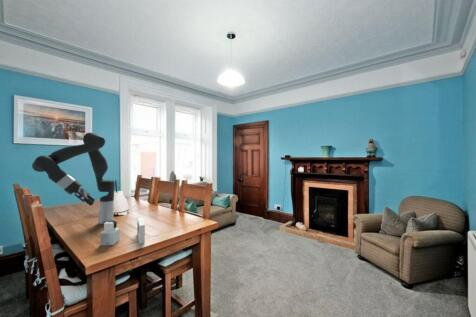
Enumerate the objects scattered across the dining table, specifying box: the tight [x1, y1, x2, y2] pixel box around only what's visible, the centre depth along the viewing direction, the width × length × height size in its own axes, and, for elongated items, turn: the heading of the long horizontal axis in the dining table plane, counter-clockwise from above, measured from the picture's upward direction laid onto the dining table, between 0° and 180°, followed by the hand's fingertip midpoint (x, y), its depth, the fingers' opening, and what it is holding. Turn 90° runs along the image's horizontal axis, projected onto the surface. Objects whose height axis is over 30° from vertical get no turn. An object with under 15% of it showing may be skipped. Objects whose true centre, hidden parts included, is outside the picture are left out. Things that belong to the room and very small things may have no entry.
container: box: [99, 220, 121, 246], centre depth 129 cm, size 8×8×13 cm
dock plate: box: [136, 217, 146, 245], centre depth 137 cm, size 3×18×11 cm, turn 29°
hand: (93, 202), depth 126 cm, fingers open, 8 cm apart
